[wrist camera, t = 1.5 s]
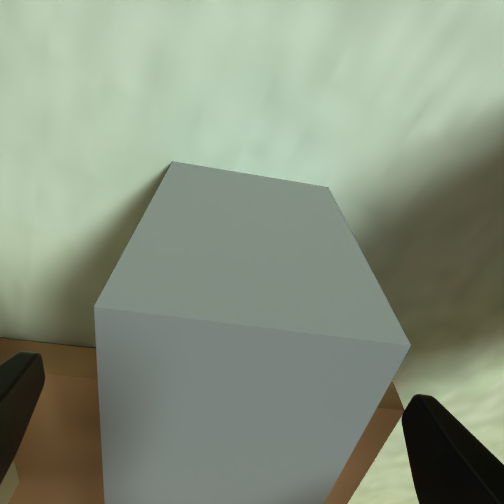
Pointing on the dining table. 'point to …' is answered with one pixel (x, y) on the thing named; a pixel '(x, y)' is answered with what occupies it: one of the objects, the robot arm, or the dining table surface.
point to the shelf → (89, 433)
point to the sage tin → (8, 484)
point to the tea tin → (239, 345)
